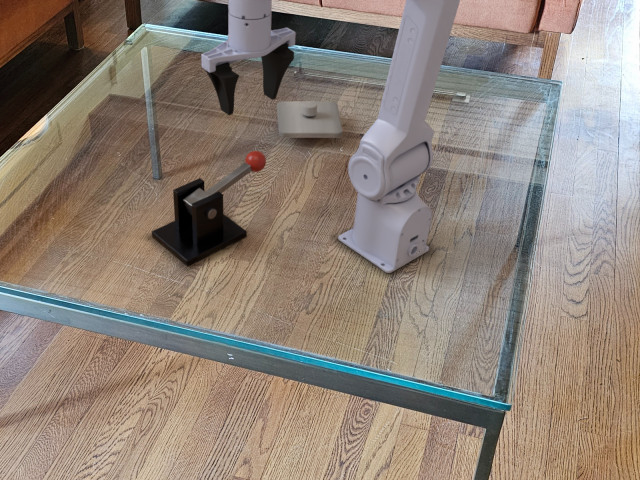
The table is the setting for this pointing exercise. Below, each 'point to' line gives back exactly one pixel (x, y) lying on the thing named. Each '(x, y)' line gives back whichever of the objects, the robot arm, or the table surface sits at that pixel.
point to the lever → (229, 178)
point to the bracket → (198, 226)
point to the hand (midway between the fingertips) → (248, 104)
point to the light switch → (309, 119)
